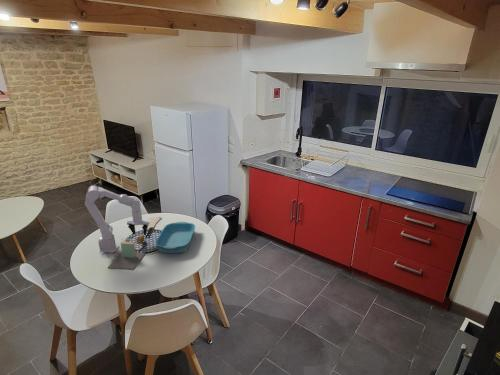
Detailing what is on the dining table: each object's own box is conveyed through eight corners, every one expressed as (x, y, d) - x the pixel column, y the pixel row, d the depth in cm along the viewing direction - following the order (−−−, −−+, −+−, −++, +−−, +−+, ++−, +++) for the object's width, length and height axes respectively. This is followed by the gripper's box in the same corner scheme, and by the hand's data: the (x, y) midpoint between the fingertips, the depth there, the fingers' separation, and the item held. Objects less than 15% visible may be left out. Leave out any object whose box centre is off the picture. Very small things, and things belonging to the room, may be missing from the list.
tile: (122, 257, 197) (120, 243, 194) (124, 255, 199) (121, 242, 195) (135, 257, 197) (132, 244, 193) (136, 256, 198) (134, 242, 195)
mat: (107, 268, 188) (107, 267, 187) (122, 251, 204) (121, 250, 204) (133, 269, 186) (133, 269, 186) (145, 253, 203) (145, 252, 203)
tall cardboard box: (138, 240, 217) (137, 234, 215) (147, 241, 216) (146, 235, 214) (130, 250, 206) (129, 243, 204) (139, 250, 205) (138, 244, 203)
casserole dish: (168, 229, 233) (167, 220, 230) (198, 229, 232) (197, 220, 230) (152, 257, 198) (151, 247, 196) (187, 258, 198) (187, 248, 195)
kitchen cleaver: (149, 217, 250) (161, 215, 249) (149, 218, 250) (162, 217, 250) (136, 237, 221) (150, 235, 220) (137, 239, 221) (150, 237, 221)
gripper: (150, 213, 209) (152, 231, 214) (129, 212, 211) (132, 230, 216) (145, 218, 203) (148, 237, 208) (124, 217, 204) (127, 236, 209)
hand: (139, 234), depth 211 cm, fingers open, 7 cm apart
